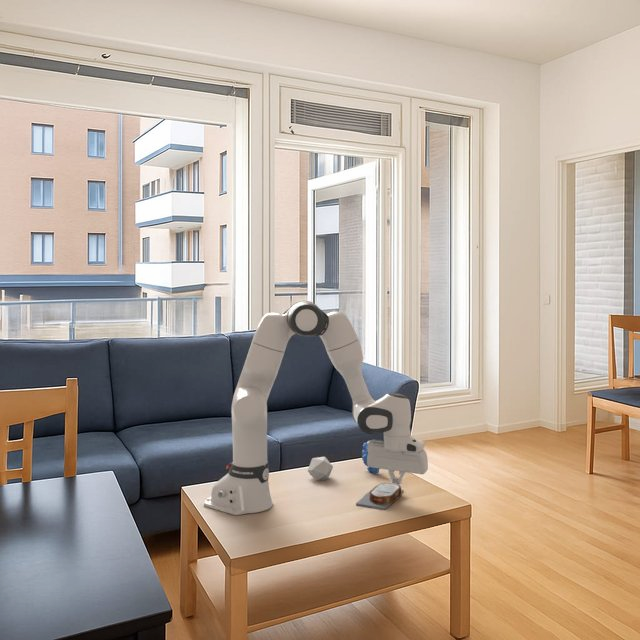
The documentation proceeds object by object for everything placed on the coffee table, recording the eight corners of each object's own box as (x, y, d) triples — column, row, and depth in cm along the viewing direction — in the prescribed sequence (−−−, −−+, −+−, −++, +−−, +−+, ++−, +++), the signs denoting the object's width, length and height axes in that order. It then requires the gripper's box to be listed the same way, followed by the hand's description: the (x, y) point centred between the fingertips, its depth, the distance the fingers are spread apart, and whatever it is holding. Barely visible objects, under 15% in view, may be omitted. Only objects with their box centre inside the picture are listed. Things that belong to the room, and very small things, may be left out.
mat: (356, 505, 202) (356, 503, 202) (376, 487, 219) (376, 485, 219) (385, 509, 198) (385, 508, 197) (403, 491, 215) (403, 489, 215)
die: (327, 475, 234) (311, 455, 234) (341, 469, 229) (325, 448, 229) (315, 488, 228) (299, 468, 228) (329, 482, 223) (313, 461, 223)
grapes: (353, 470, 239) (353, 439, 238) (368, 467, 242) (368, 437, 241) (370, 478, 229) (370, 446, 228) (385, 475, 232) (385, 444, 231)
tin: (404, 491, 213) (381, 489, 216) (404, 482, 213) (380, 480, 216) (390, 506, 199) (365, 503, 203) (389, 496, 199) (365, 494, 203)
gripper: (364, 440, 206) (363, 481, 207) (424, 448, 197) (423, 490, 198) (370, 436, 212) (370, 476, 213) (429, 443, 203) (429, 484, 204)
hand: (396, 483), depth 205 cm, fingers closed
